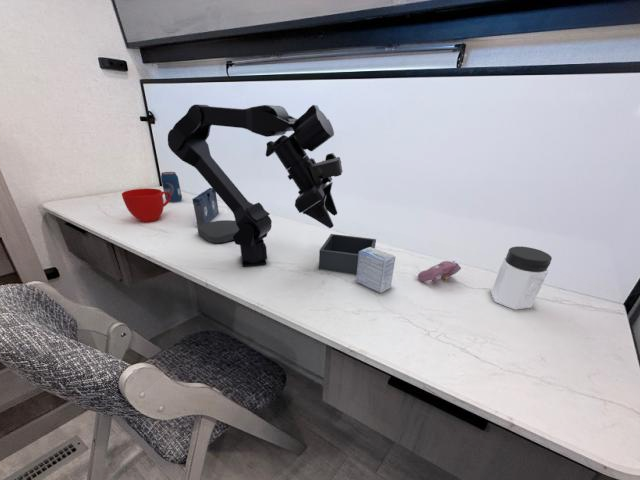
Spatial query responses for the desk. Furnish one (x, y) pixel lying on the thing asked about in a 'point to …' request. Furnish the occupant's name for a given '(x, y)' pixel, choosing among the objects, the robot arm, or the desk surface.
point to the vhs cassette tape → (205, 206)
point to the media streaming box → (218, 231)
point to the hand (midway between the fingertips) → (334, 220)
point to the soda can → (171, 186)
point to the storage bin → (343, 253)
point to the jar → (520, 277)
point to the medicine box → (375, 269)
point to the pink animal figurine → (439, 271)
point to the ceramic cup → (145, 203)
